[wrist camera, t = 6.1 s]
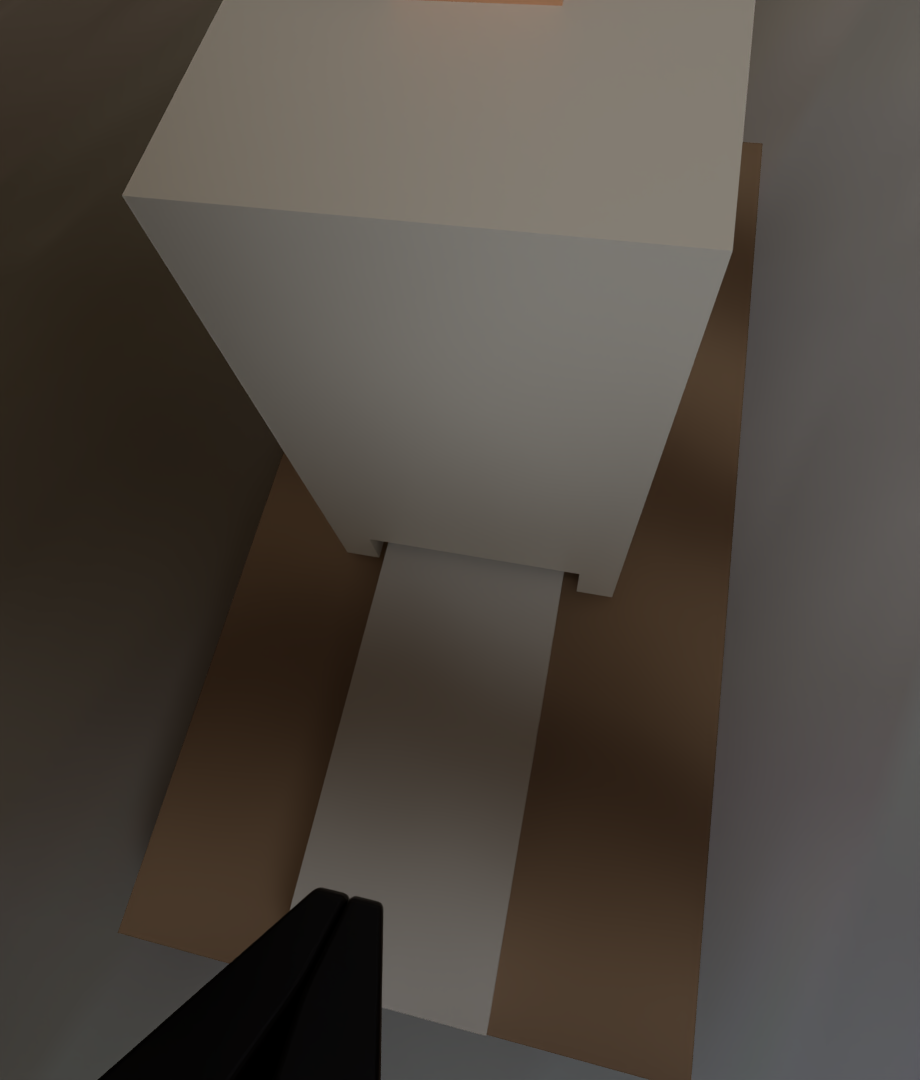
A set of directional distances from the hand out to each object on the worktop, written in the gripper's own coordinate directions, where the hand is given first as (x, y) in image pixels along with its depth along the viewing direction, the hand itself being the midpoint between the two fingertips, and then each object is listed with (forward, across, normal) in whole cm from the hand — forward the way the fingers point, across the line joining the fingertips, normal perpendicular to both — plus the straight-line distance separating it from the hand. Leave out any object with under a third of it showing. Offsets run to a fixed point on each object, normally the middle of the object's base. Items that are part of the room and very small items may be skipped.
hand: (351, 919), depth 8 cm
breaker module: (+10, 0, -4) cm, 10 cm away
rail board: (+10, 0, -2) cm, 11 cm away
